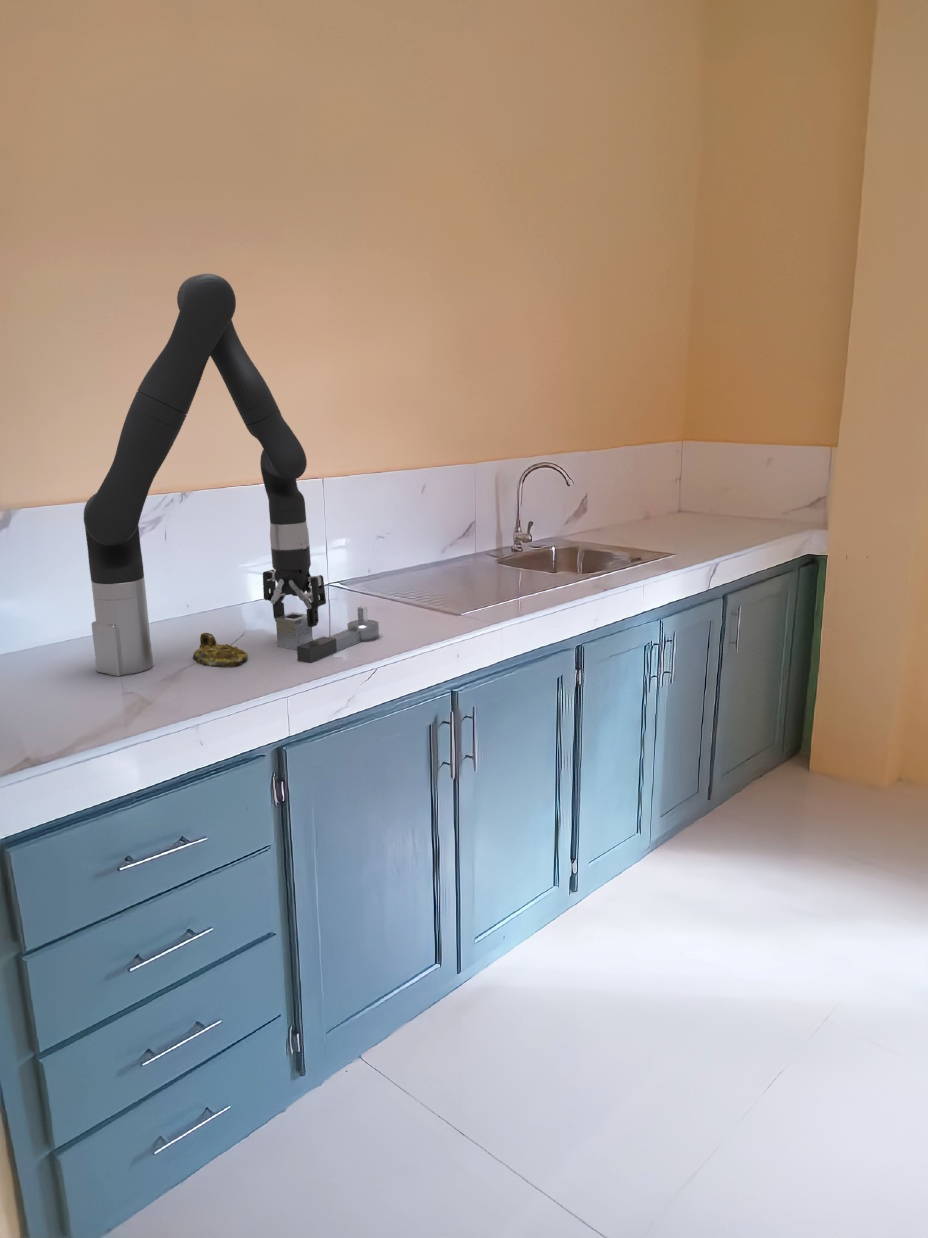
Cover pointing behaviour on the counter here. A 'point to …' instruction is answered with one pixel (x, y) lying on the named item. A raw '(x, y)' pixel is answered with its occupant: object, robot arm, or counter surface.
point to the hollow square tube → (293, 630)
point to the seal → (218, 653)
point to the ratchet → (340, 638)
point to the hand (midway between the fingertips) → (296, 623)
